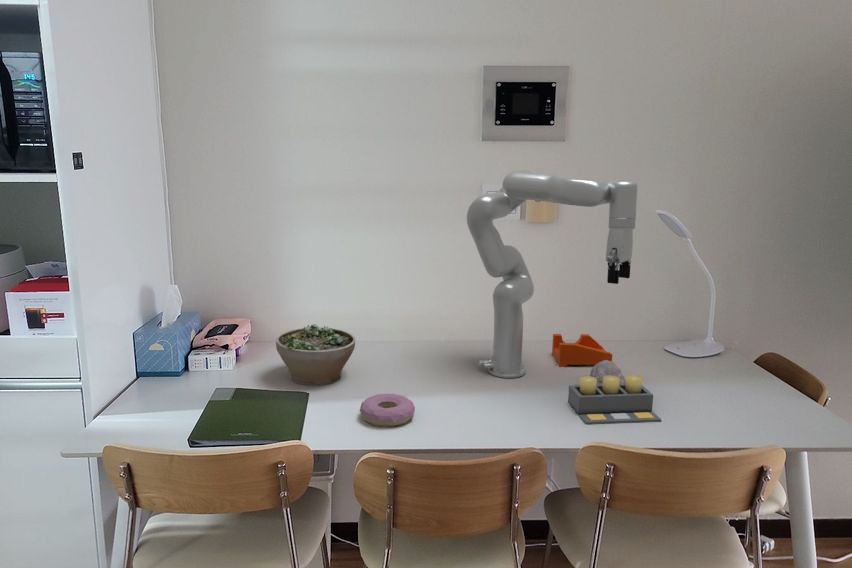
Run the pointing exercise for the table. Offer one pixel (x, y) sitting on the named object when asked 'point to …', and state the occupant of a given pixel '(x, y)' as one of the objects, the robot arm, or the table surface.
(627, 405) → the grey compartment tray
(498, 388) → the table surface
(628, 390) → the button right
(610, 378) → the button mid
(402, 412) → the donut
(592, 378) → the button left
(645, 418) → the strip
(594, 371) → the stone
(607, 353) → the tape dispenser
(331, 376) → the planter
